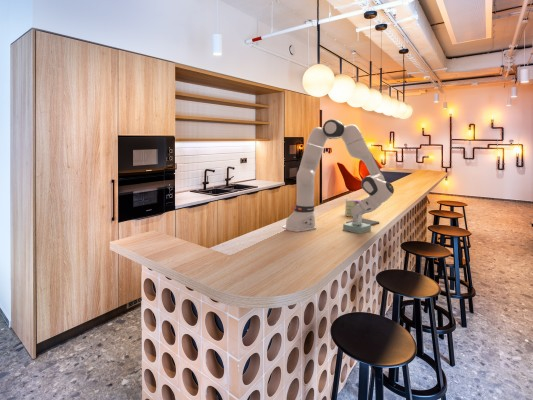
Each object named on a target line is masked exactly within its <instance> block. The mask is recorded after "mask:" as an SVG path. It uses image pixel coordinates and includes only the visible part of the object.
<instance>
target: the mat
mask: <svg viewBox="0 0 533 400" xmlns="http://www.w3.org/2000/svg"><path fill="white" fill-rule="evenodd" d="M350 222H352V220H349V221H346V222H345V224H346V223H350ZM362 223H365V224H369V225H371V227H372V226H375V225H378V224H380V221H377V220H373V219H369V218H363V217H362Z"/></svg>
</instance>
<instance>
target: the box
mask: <svg viewBox="0 0 533 400" xmlns="http://www.w3.org/2000/svg"><path fill="white" fill-rule="evenodd" d="M361 200H362V199H349V198H348V199H345V208H344V209H345V212H344V215H345V217H353V214H352V213H351V210H352V209H353V208H354V207H355V206H356V205H357V204H359V201H361Z"/></svg>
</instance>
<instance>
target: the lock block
mask: <svg viewBox="0 0 533 400" xmlns="http://www.w3.org/2000/svg"><path fill="white" fill-rule="evenodd" d="M342 230H344V231H347V232H351V233H355V234H359V235H360V234H364V233H367V232H370V231H371V230H372V226H371V225H369V224H365V223H362V224H361V226H355V225H352V222H350V223H346V222H345V223H343V226H342Z"/></svg>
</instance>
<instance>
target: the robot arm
mask: <svg viewBox="0 0 533 400" xmlns="http://www.w3.org/2000/svg"><path fill="white" fill-rule="evenodd" d="M340 138H341V139H342V141H343V143H344V146H345V148H346V151H347V152H348V154H349V155H350V156H351V157H352V158H354V159H358V160H360V161H362V162H363V163H364V165H365V166H366V169H367V170H368V172H369V175H367V176H364V177H363V178H362V179H361V184H360V185H361V189H362V190H364V192H365V193H367V194H368V196H366V197H365V198H363V199H360V200H361V201H359V204H357V205H356V206H355V207H354V208H353V209H352V210H351V213H352V214H353V216H352V218H353V217H354V218H355V217H357V215H361V214H362V216H363V215H366V214H368V213H372V212H374V211H376V210H377V209H378V208H379V207H381V205H383V203H385V202H387V201H388V200H389V199H390V198H391V197H392V196H393V194H394V191H395V187H394V186H393V185H392V183H391V182H389V181H388V178H387V176H386V174H385V173H383V171H382V170H381V169H380V167H379V165H378V163H377V161H376V158H375V157H374V155H373V154H372V152H371V150H370V149H369V147H368V145H367V144H366V141H365V138H364V136H363V135H362V131H360V129H359V127H358V126H357V125H356V124H347V125H345V124H344V123H342V122H341V121H340V120H338V119H335V118H331V119H328V120H326V121H324V123H323V126H322V127H320V126H317V127H314V128H312V130H311V132H310V134H309V136H308V138H307V141H306V145H305V147H304V151H303V154H302V157H301V161H300V165H299V168H298V170H297V173H296V204H295V205H292V206H291V209H292V210H294V211H292V213H291V214H290V215H289V216H288V217H287V218H286V223H285V224H284V225H282V229H284V230H286V231H289V232H296V233H298V232H305V231H312V230H316V229H317V227H316V218H315V204H314V203H315V177H316V172H317V170H318V167H319V165H320V164H319V163H320V160H321V158H322V155H323V152H324V148H325V145H326V143H327V141H328V140H337V139H340Z"/></svg>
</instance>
